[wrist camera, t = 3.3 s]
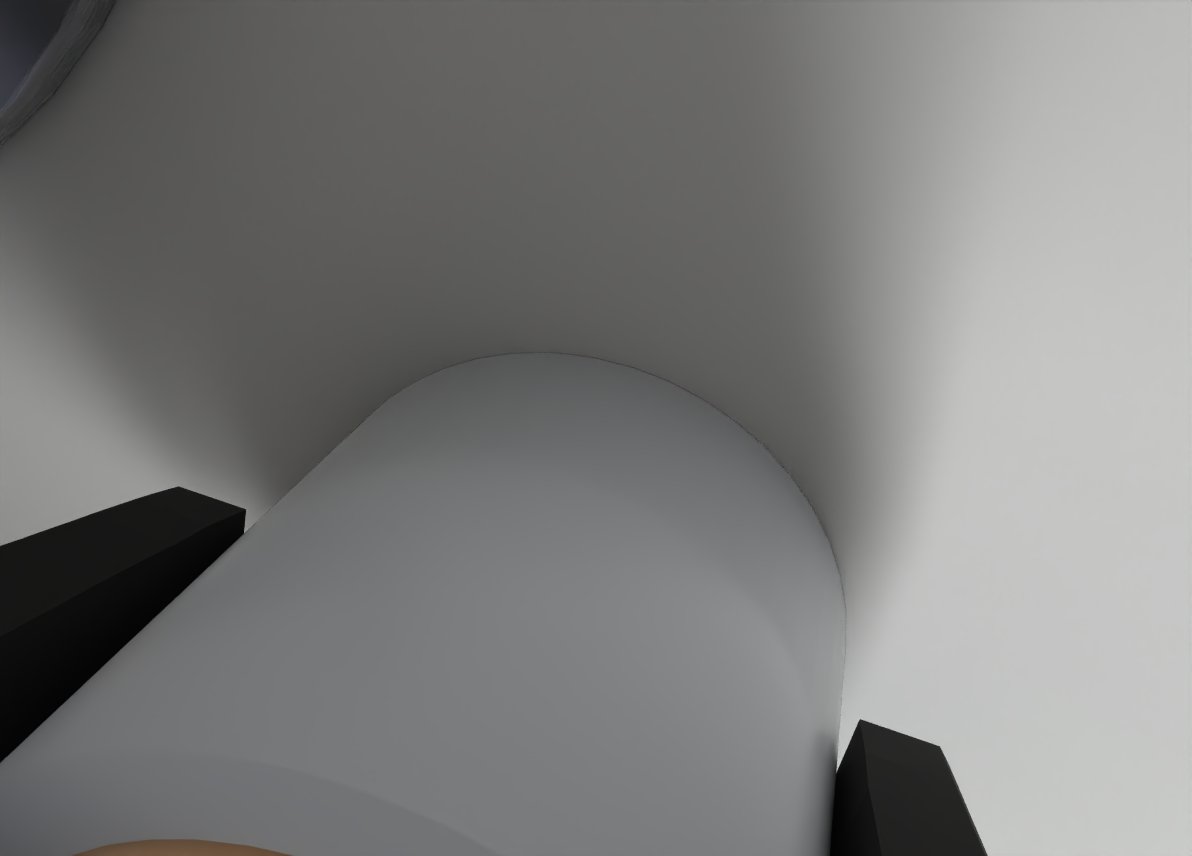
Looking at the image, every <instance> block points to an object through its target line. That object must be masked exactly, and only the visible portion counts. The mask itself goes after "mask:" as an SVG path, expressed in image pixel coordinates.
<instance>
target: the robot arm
mask: <svg viewBox="0 0 1192 856" xmlns="http://www.w3.org/2000/svg"><path fill="white" fill-rule="evenodd" d="M245 516H246V509H243V508H240V507H237V506H234V505H231V504H228V503H226V502H223V501H220V500H217V499H214V498H211V497H208V496H205V495H202V494H199V493H196V492H193V491H190V490H187V489H185V488H182V487H179V486H178V487H175V488H171V489H168V490H164V491H161V492H157V493H154V494H150V495H147V496H144V497H141V498H138V499H135V500H132V501H129V502H126V503H123V504H120V505H117V506H114V507H111V508H108V509H105V510H102V511H99V512H96V513H93V514H91V515H88V516H85V517H82V518H79V519H76V520H73V521H71V522H68V523H65V524H62V525H59V526H56V527H54V528H51V529H48V530H45V531H42V532H39V533H37V534H34V535H31V536H28V537H25V538H22V539H19V540H17V541H14V542H11V543H8V544H5V545H2V546H0V763H1V762H2V761H3V760H4V759H5V758H6V757H7V756H8V755H9V754H10V753H12V752H13V751H14V750H15V749H16V748H17V747H18V746H19V745H20V744H21V743H22V742H23V741H24V740H25V739H26V738H27V737H29V736H30V735H31V734H32V733H33V732H34V731H35V730H36V729H37V728H38V727H39V726H40V725H41V724H42V723H43V722H44V721H46V720H47V719H48V718H49V717H50V716H51V715H52V714H53V713H54V712H55V711H56V710H57V709H58V708H59V707H60V706H61V705H63V704H64V703H65V702H66V701H67V700H68V699H69V698H70V697H71V696H72V695H73V694H74V693H75V692H76V691H77V690H79V689H80V688H81V687H82V686H83V685H84V684H85V683H86V682H87V681H88V680H89V679H90V678H91V677H92V676H93V675H94V674H96V673H97V672H98V671H99V670H100V669H101V668H102V667H103V666H104V665H105V664H106V663H107V662H108V661H109V660H110V659H111V658H113V657H114V656H115V655H116V654H117V653H118V652H119V651H120V650H121V649H122V648H123V647H124V646H125V645H126V644H127V643H128V642H130V641H131V640H132V639H133V638H134V637H135V636H136V635H137V634H138V633H139V632H140V631H141V630H142V629H143V628H144V627H145V626H147V625H148V624H149V623H150V622H151V621H152V620H153V619H154V618H155V617H156V616H157V615H158V614H159V613H160V612H161V611H162V610H164V609H165V608H166V607H167V606H168V605H169V604H170V603H171V602H172V601H173V600H174V599H175V598H176V597H177V596H178V595H180V594H181V593H182V592H183V591H184V590H185V589H186V588H187V587H188V586H189V585H190V584H191V583H192V582H193V581H194V580H195V579H197V578H198V577H199V576H200V575H201V574H202V573H203V572H204V571H205V570H206V569H207V568H208V567H209V566H210V565H211V564H212V563H214V562H215V561H216V560H217V559H218V558H219V557H220V556H221V555H222V554H223V553H224V552H225V551H226V550H227V549H228V548H229V547H231V546H232V545H233V544H234V543H235V542H236V541H237V540H238V539H239V538H240V537H241V536H242V535H243V534H244V527H245ZM830 856H988V855H987V853H986V851H985V848H984V846H983V844H982V841H981V839H980V837H979V834H978V832H977V830H976V827H975V825H974V823H973V820H972V818H971V816H970V813H969V811H968V809H967V806H966V804H965V802H964V799H963V797H962V794H961V792H960V790H959V787H958V785H957V783H956V780H955V778H954V776H953V773H952V771H951V769H950V766H949V764H948V762H947V760H946V758H945V756H944V754H943V752H942V750H941V748H940V746H937V745H934V744H931V743H928V742H925V741H922V740H919V739H916V738H913V737H910V736H908V735H905V734H902V733H899V732H896V731H893V730H890V729H887V728H884V727H881V726H878V725H875V724H872V723H869V722H867V721H864V720H861V719H860V720H859V722H858V725H857V727H856V729H855V731H854V734H853V736H852V738H851V741H850V743H849V745H848V747H847V750H846V752H845V754H844V757H843V759H842V761H841V764H840V766H839V768H838V770H837V773H836V782H835V795H834V808H833V821H832V834H831V847H830Z"/></svg>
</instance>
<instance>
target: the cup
mask: <svg viewBox="0 0 1192 856" xmlns="http://www.w3.org/2000/svg"><path fill="white" fill-rule="evenodd" d="M845 650H846V606H845V601H844V595H843V589H842V583H841V577H840V573H839V570H838V567H837V564H836V561H835V558H834V555H833V552H832V549H831V546H830V542H829V540H828V538H827V536H826V534H825V532H824V530H823V528H822V526H821V524H820V522H819V520H818V518H817V516H816V514H815V512H814V510H813V508H812V507H811V505H810V504H809V502H808V501H807V499H806V498H805V496H804V495H803V493H802V492H801V490H800V489H799V488H798V486H797V485H796V483H795V482H794V480H793V479H792V477H791V476H790V475H789V474H788V473H787V472H786V471H785V469H784V468H783V467H782V466H781V465H780V464H779V463H778V462H777V460H776V459H775V458H774V457H773V456H772V455H771V454H770V452H769V451H768V450H767V449H766V448H765V447H764V446H763V445H761V444H760V443H759V442H758V441H757V440H756V439H755V438H753V437H752V436H751V435H750V434H749V433H748V432H747V431H746V430H744V429H743V428H742V427H741V426H740V425H739V424H738V423H736V422H735V421H733V420H732V419H731V418H729V417H728V416H726V415H725V414H723V413H722V412H720V411H719V410H717V409H716V408H715V407H713V406H712V405H710V404H709V403H707V402H706V401H704V400H703V399H701V398H699V397H697V396H695V395H693V394H691V393H689V392H687V391H685V390H684V389H682V388H680V387H678V386H676V385H674V384H672V383H670V382H668V381H666V380H663V379H661V378H658V377H655V376H653V375H650V374H647V373H645V372H642V371H639V370H637V369H634V368H632V367H628V366H624V365H620V364H616V363H612V362H608V361H604V360H600V359H596V358H592V357H584V356H576V355H567V354H559V353H513V354H506V355H499V356H492V357H485V358H478V359H475V360H471V361H468V362H464V363H461V364H457V365H454V366H451V367H447V368H444V369H442V370H440V371H438V372H435V373H433V374H431V375H429V376H427V377H424V378H422V379H420V380H418V381H416V382H414V383H412V384H411V385H409V386H408V387H406V388H405V389H403V390H402V391H400V392H398V393H397V394H395V395H394V396H392V397H391V398H389V399H388V400H387V401H386V402H384V403H383V404H382V405H381V406H380V407H379V408H378V409H377V410H376V411H374V412H373V413H372V414H371V415H370V416H369V417H368V418H367V419H366V420H365V421H363V422H362V423H361V424H360V425H359V426H358V427H357V428H356V429H355V430H354V431H353V432H352V433H351V434H350V435H349V436H347V437H346V438H345V439H344V440H343V441H342V442H341V443H340V444H339V445H338V446H337V447H336V448H335V449H334V450H333V451H332V452H330V453H329V454H328V455H327V456H326V457H325V458H324V459H323V460H322V461H321V462H320V463H319V464H318V465H317V466H316V467H315V468H313V469H312V470H311V471H310V472H309V473H308V474H307V475H306V476H305V477H304V478H303V479H302V480H301V481H300V482H299V483H298V484H296V485H295V486H294V487H293V488H292V489H291V490H290V491H289V492H288V493H287V494H286V495H285V496H284V497H283V498H282V499H281V500H279V501H278V502H277V503H276V504H275V505H274V506H273V507H272V508H271V509H270V510H269V511H268V512H267V513H266V514H265V515H264V516H262V517H261V518H260V519H259V520H258V521H257V522H256V523H255V524H254V525H253V526H252V527H251V528H250V529H249V530H248V531H246V532H245V533H244V534H243V535H242V536H241V537H240V538H239V539H238V540H237V541H236V542H235V543H234V544H233V545H232V546H231V547H229V548H228V549H227V550H226V551H225V552H224V553H223V554H222V555H221V556H220V557H219V558H218V559H217V560H216V561H215V562H214V563H212V564H211V565H210V566H209V567H208V568H207V569H206V570H205V571H204V572H203V573H202V574H201V575H200V576H199V577H198V578H197V579H195V580H194V581H193V582H192V583H191V584H190V585H189V586H188V587H187V588H186V589H185V590H184V591H183V592H182V593H181V594H180V595H178V596H177V597H176V598H175V599H174V600H173V601H172V602H171V603H170V604H169V605H168V606H167V607H166V608H165V609H164V610H162V611H161V612H160V613H159V614H158V615H157V616H156V617H155V618H154V619H153V620H152V621H151V622H150V623H149V624H148V625H147V626H145V627H144V628H143V629H142V630H141V631H140V632H139V633H138V634H137V635H136V636H135V637H134V638H133V639H132V640H131V641H130V642H128V643H127V644H126V645H125V646H124V647H123V648H122V649H121V650H120V651H119V652H118V653H117V654H116V655H115V656H114V657H113V658H111V659H110V660H109V661H108V662H107V663H106V664H105V665H104V666H103V667H102V668H101V669H100V670H99V671H98V672H97V673H96V674H94V675H93V676H92V677H91V678H90V679H89V680H88V681H87V682H86V683H85V684H84V685H83V686H82V687H81V688H80V689H79V690H77V691H76V692H75V693H74V694H73V695H72V696H71V697H70V698H69V699H68V700H67V701H66V702H65V703H64V704H63V705H61V706H60V707H59V708H58V709H57V710H56V711H55V712H54V713H53V714H52V715H51V716H50V717H49V718H48V719H47V720H46V721H44V722H43V723H42V724H41V725H40V726H39V727H38V728H37V729H36V730H35V731H34V732H33V733H32V734H31V735H30V736H29V737H27V738H26V739H25V740H24V741H23V742H22V743H21V744H20V745H19V746H18V747H17V748H16V749H15V750H14V751H13V752H12V753H10V754H9V755H8V756H7V757H6V758H5V759H4V760H3V761H2V762H1V763H0V856H830V847H831V834H832V821H833V808H834V795H835V782H836V768H837V755H838V742H839V729H840V716H841V703H842V690H843V677H844V663H845Z"/></svg>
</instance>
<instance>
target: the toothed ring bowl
mask: <svg viewBox="0 0 1192 856" xmlns="http://www.w3.org/2000/svg"><path fill="white" fill-rule="evenodd" d="M114 2H115V0H0V146H1V145H2V144H3V143H4V142H5V141H6V140H7V139H8V138H9V137H10V136H11V135H12V134H13V133H14V132H15V131H16V130H17V129H18V128H19V127H20V126H21V125H22V124H23V123H24V122H25V121H26V120H27V119H28V118H29V117H30V116H31V115H32V114H33V113H34V112H35V111H36V110H37V109H38V108H39V107H40V106H41V105H42V104H43V103H44V102H45V101H46V100H47V99H48V98H49V97H50V96H51V95H52V94H54V92H55V91H56V90H57V88H58V87H59V85H60V84H61V83H62V81H63V80H64V78H65V77H66V76H67V74H68V73H69V71H70V70H71V69H72V67H73V66H74V64H75V63H76V62H77V60H78V59H79V57H80V56H81V55H82V53H83V52H84V51H85V49H86V48H87V46H88V45H89V44H90V42H91V41H92V39H93V38H94V37H95V35H96V34H97V32H98V31H99V30H100V28H101V27H102V25H103V23H104V21H105V19H106V17H107V15H108V13H109V11H110V9H111V8H112V6H113V4H114Z"/></svg>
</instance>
